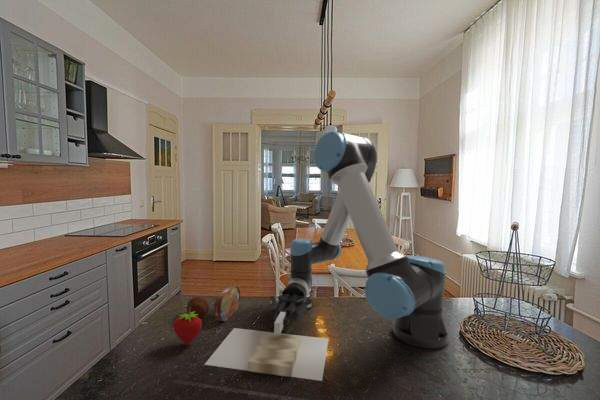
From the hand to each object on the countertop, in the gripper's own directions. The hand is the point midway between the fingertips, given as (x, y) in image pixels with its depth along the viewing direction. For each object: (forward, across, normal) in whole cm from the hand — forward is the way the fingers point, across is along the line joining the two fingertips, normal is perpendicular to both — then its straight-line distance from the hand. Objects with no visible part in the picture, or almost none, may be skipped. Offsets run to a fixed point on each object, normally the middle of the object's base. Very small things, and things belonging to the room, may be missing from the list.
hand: (277, 328), depth 74 cm
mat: (-3, +2, -8) cm, 9 cm away
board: (-6, 0, -6) cm, 9 cm away
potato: (-18, +31, -8) cm, 37 cm away
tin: (-21, +22, -8) cm, 31 cm away
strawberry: (-2, +25, -8) cm, 26 cm away
